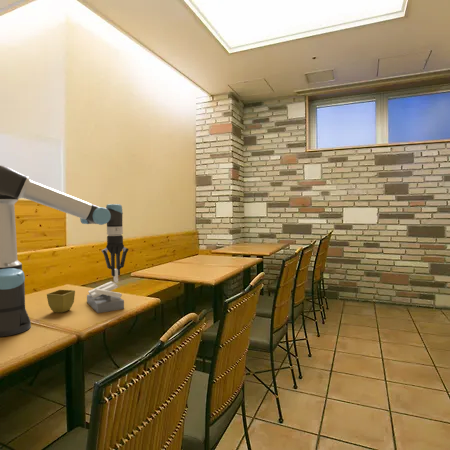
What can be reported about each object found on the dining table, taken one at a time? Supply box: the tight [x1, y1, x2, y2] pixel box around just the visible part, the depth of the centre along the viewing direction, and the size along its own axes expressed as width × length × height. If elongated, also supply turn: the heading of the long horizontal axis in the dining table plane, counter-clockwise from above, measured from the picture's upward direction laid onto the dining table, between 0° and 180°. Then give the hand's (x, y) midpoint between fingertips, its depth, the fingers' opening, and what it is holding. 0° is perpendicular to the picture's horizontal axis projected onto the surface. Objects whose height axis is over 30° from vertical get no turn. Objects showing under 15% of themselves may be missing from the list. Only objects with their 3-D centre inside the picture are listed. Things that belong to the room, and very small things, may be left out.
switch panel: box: [86, 293, 125, 314], centre depth 163 cm, size 12×22×6 cm, turn 34°
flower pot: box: [46, 289, 76, 314], centre depth 154 cm, size 9×9×9 cm
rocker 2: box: [91, 282, 119, 298], centre depth 163 cm, size 12×3×2 cm, turn 124°
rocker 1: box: [87, 281, 115, 295], centre depth 168 cm, size 12×3×2 cm, turn 124°
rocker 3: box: [94, 287, 123, 298], centre depth 158 cm, size 12×3×2 cm, turn 124°
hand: (115, 282), depth 166 cm, fingers closed
